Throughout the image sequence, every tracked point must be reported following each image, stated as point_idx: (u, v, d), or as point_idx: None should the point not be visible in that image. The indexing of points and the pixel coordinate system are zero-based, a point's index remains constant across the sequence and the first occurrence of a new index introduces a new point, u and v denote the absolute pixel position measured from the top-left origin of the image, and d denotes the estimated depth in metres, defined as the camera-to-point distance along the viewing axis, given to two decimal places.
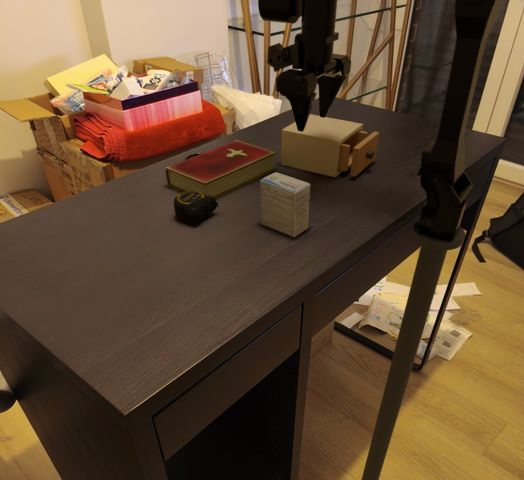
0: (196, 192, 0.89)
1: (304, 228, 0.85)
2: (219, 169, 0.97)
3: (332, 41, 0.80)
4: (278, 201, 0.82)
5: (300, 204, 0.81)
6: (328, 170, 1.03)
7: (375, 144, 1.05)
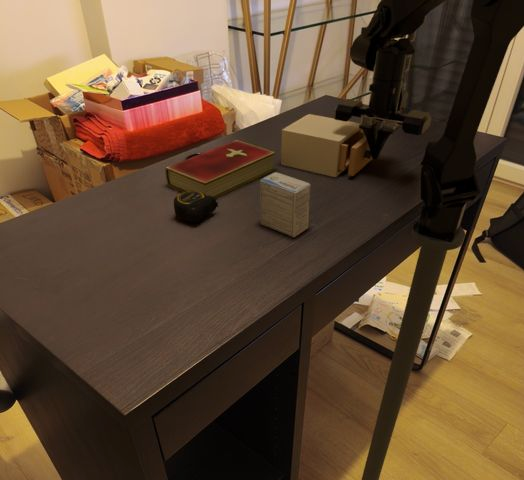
0: (196, 192, 0.89)
1: (304, 228, 0.85)
2: (219, 169, 0.97)
3: (380, 92, 0.91)
4: (278, 201, 0.82)
5: (300, 204, 0.81)
6: (328, 170, 1.03)
7: None
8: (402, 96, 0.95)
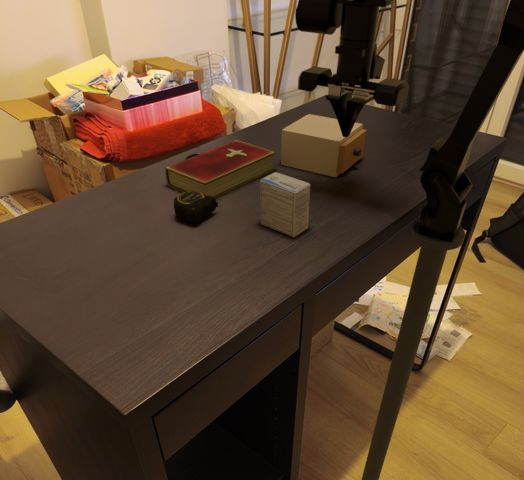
0: (196, 192, 0.89)
1: (304, 228, 0.85)
2: (219, 169, 0.97)
3: (347, 54, 0.78)
4: (278, 201, 0.82)
5: (300, 204, 0.81)
6: (328, 170, 1.03)
7: (362, 141, 1.06)
8: (375, 61, 0.81)
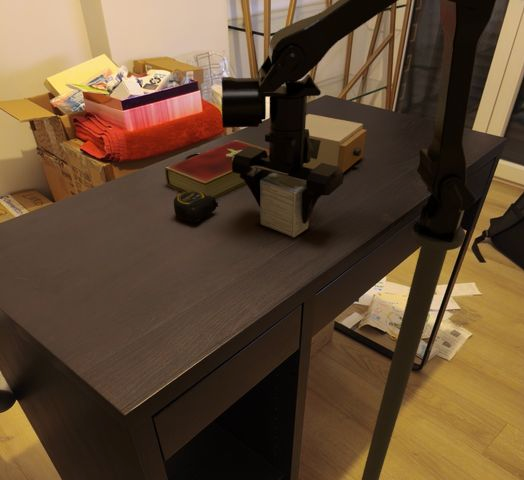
0: (196, 192, 0.89)
1: (304, 228, 0.85)
2: (218, 169, 0.97)
3: (277, 143, 0.75)
4: (278, 201, 0.82)
5: (300, 204, 0.81)
6: None
7: (362, 141, 1.06)
8: (309, 146, 0.78)
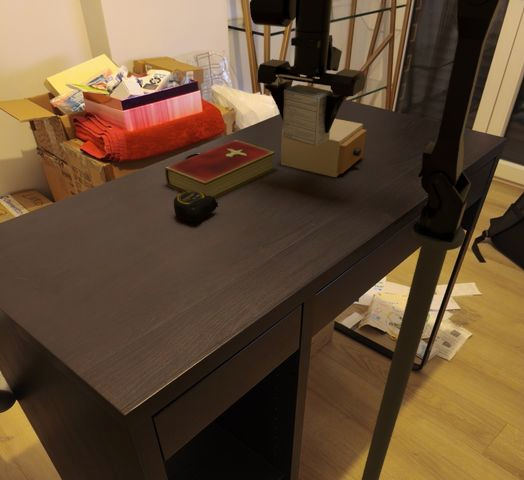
0: (196, 192, 0.89)
1: (326, 139, 0.89)
2: (218, 168, 0.97)
3: (303, 46, 0.78)
4: (302, 110, 0.85)
5: (323, 111, 0.84)
6: (328, 170, 1.03)
7: (362, 141, 1.06)
8: (332, 53, 0.82)
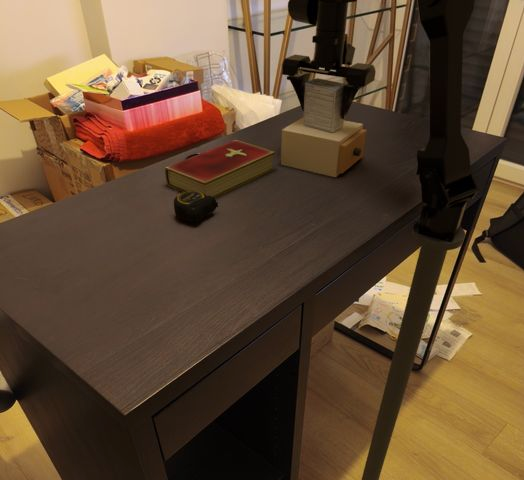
0: (196, 192, 0.89)
1: (340, 126, 1.02)
2: (218, 168, 0.97)
3: (322, 43, 0.92)
4: (320, 100, 0.99)
5: (338, 101, 0.98)
6: (328, 170, 1.03)
7: (362, 141, 1.06)
8: (347, 49, 0.95)
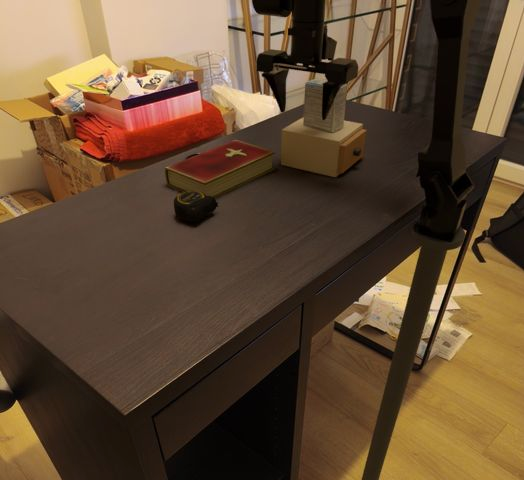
0: (196, 192, 0.89)
1: (340, 126, 1.02)
2: (218, 168, 0.97)
3: (299, 35, 0.83)
4: (320, 100, 0.99)
5: (338, 101, 0.98)
6: (328, 170, 1.03)
7: (362, 141, 1.06)
8: (327, 42, 0.86)
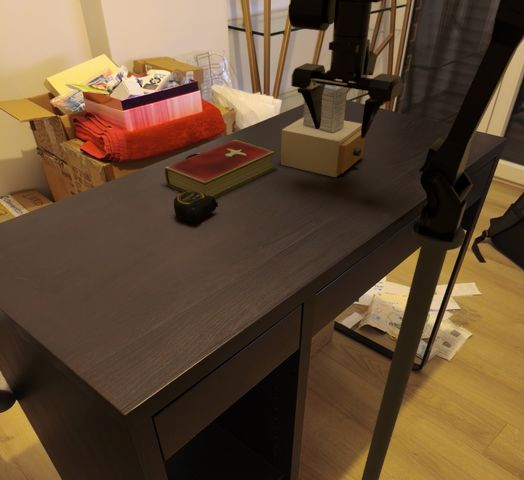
0: (196, 192, 0.89)
1: (340, 126, 1.02)
2: (218, 168, 0.97)
3: (341, 50, 0.78)
4: None
5: (338, 101, 0.98)
6: (328, 170, 1.03)
7: (362, 141, 1.06)
8: (369, 57, 0.81)
